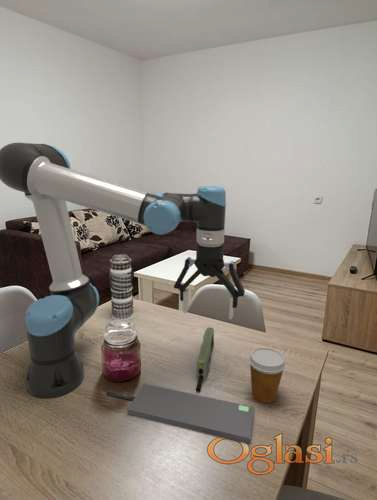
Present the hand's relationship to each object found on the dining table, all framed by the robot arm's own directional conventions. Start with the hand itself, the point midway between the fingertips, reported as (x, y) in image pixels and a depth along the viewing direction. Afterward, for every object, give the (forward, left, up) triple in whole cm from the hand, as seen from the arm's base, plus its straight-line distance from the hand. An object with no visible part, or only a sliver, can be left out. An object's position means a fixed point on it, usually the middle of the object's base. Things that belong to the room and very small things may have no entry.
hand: (207, 314), depth 96 cm
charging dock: (-3, -20, -18) cm, 27 cm away
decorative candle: (-39, +22, -18) cm, 48 cm away
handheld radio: (0, 0, -18) cm, 18 cm away
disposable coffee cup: (+18, -8, -18) cm, 26 cm away
